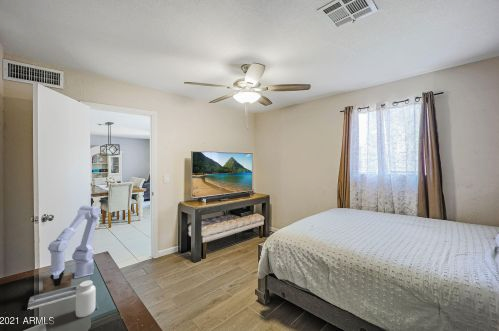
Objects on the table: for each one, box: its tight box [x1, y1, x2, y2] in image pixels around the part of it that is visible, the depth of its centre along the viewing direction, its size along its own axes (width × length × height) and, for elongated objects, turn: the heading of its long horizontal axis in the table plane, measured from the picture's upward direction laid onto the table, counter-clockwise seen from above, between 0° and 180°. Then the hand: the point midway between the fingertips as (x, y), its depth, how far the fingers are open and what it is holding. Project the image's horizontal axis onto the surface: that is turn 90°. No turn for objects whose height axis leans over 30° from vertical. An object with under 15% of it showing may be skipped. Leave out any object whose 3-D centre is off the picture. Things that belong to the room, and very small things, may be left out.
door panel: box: [42, 272, 73, 294], centre depth 120 cm, size 12×2×7 cm, turn 128°
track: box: [27, 283, 81, 310], centre depth 114 cm, size 20×8×3 cm, turn 128°
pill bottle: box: [75, 279, 97, 318], centre depth 106 cm, size 8×8×15 cm
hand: (57, 284), depth 120 cm, fingers closed on door panel, 2 cm apart
